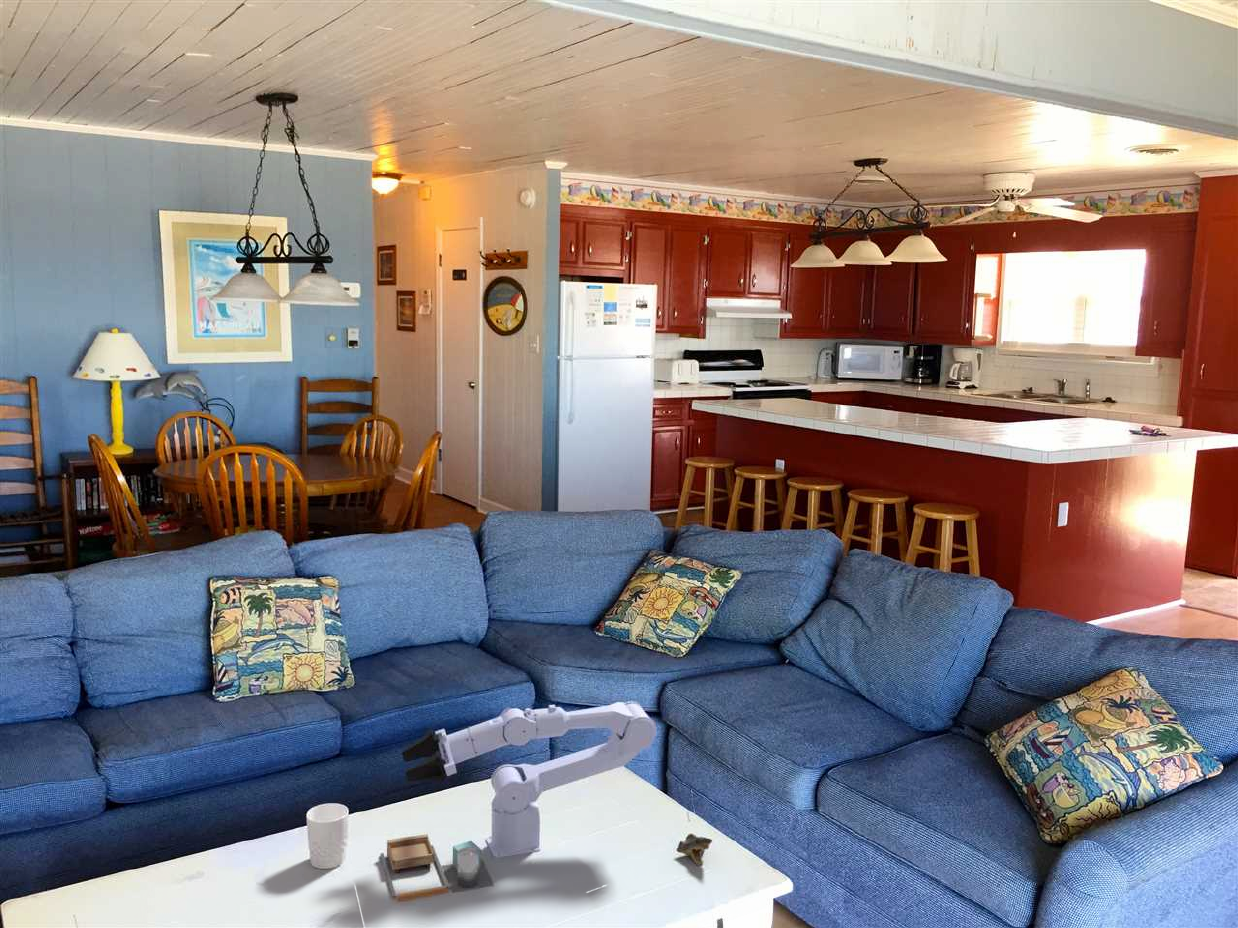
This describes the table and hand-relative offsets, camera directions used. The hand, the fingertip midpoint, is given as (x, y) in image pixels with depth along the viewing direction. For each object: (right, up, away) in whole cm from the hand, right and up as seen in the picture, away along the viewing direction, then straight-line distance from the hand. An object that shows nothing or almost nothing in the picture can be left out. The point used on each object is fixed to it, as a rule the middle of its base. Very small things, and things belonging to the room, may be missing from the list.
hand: (404, 766), depth 197 cm
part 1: (+12, -19, -1) cm, 23 cm away
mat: (+13, -20, -3) cm, 24 cm away
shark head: (+57, -20, +5) cm, 61 cm away
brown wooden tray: (+1, -19, +1) cm, 19 cm away
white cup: (-15, -19, +1) cm, 25 cm away
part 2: (+13, -20, -6) cm, 25 cm away
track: (+2, -20, -3) cm, 20 cm away
